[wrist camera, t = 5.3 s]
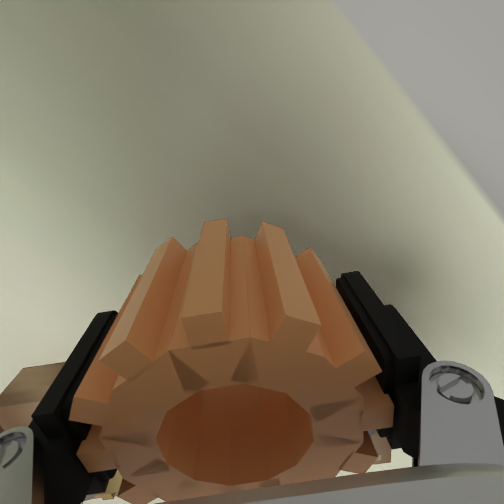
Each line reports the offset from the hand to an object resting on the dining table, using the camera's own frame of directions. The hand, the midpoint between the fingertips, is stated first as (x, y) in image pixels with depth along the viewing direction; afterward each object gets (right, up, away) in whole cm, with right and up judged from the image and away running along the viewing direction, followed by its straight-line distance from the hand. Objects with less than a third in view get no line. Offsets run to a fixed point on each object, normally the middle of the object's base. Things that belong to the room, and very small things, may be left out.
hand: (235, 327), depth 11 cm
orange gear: (0, 0, +1) cm, 1 cm away
